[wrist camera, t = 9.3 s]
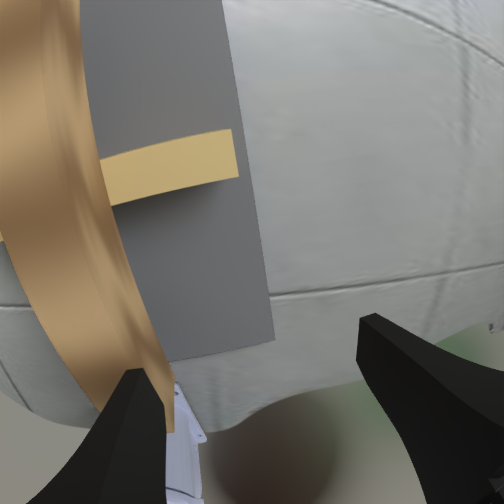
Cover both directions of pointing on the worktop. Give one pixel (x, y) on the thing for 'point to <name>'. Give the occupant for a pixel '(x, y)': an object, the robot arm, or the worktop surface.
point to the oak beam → (67, 207)
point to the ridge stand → (177, 170)
